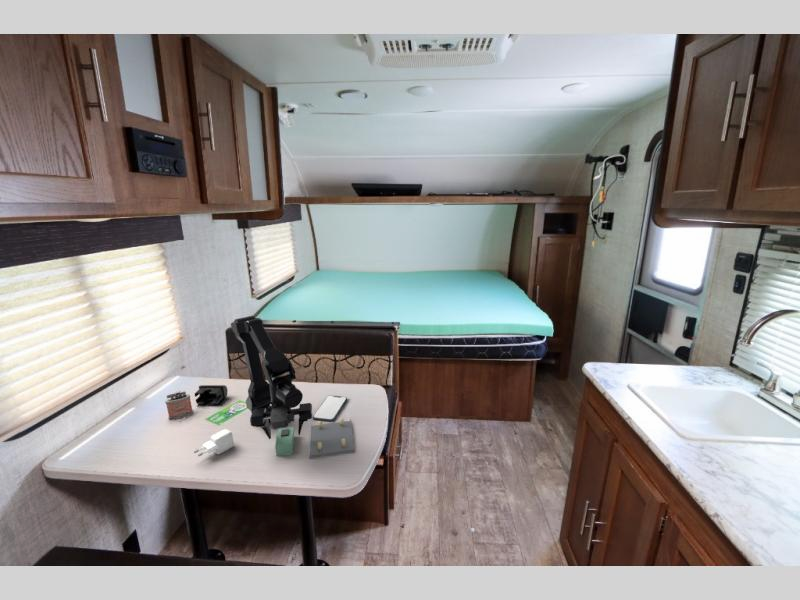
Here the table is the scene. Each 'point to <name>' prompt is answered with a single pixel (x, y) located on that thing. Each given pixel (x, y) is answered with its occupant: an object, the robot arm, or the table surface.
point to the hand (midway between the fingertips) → (284, 436)
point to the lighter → (178, 405)
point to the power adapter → (218, 443)
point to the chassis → (331, 439)
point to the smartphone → (330, 408)
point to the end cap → (211, 395)
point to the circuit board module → (285, 441)
